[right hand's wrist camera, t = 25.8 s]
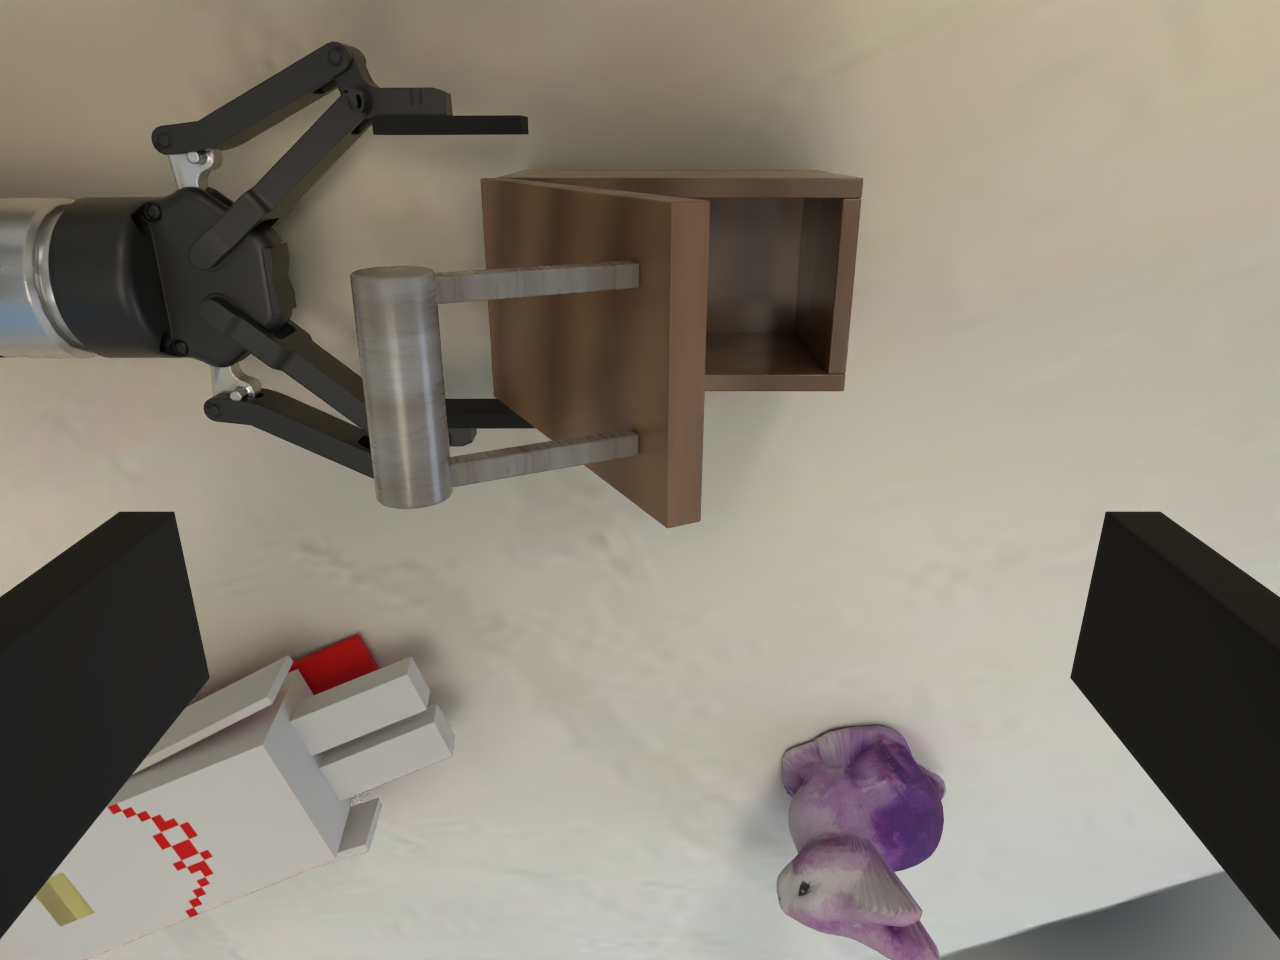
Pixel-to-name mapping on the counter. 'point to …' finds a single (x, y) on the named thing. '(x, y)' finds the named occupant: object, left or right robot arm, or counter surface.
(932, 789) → the figurine
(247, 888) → the toy
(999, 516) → the counter surface
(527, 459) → the lid
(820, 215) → the chest
